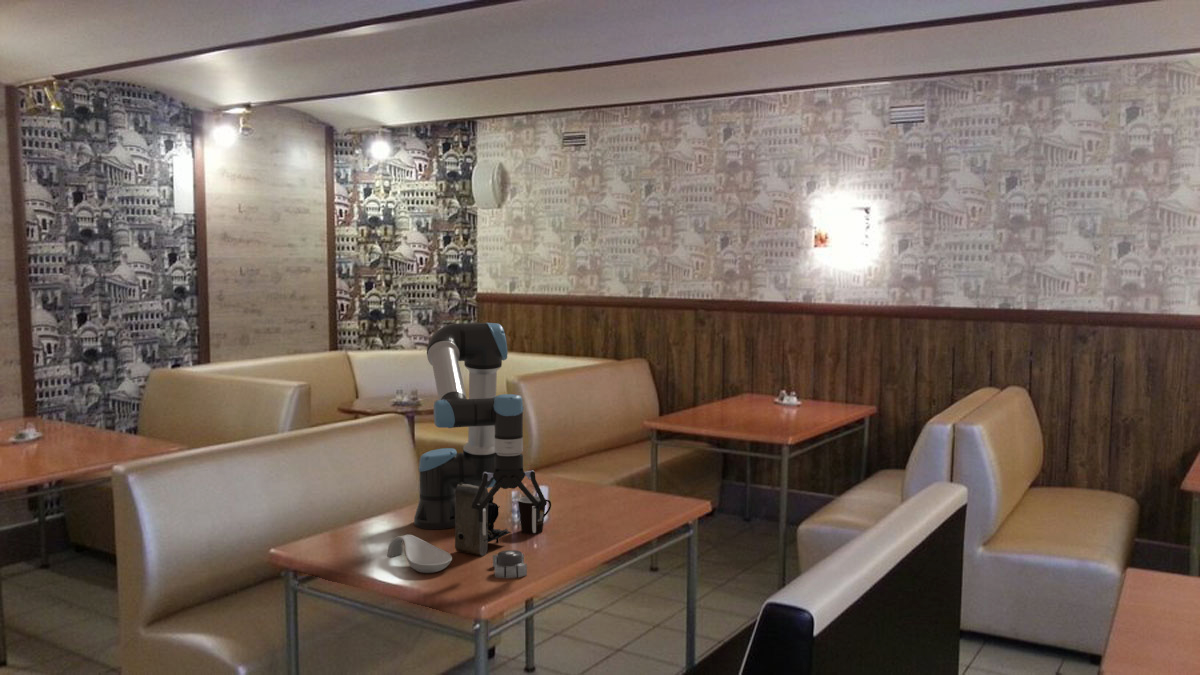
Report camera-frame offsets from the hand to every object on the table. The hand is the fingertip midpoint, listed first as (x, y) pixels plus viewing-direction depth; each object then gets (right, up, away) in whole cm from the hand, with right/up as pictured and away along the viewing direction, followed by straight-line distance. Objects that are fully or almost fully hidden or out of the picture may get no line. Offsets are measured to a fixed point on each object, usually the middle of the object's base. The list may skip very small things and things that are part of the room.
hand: (509, 532), depth 242 cm
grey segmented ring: (0, -10, +1) cm, 10 cm away
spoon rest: (-26, -10, +6) cm, 28 cm away
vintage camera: (-10, -9, +21) cm, 25 cm away
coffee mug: (+5, -8, +39) cm, 40 cm away
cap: (0, -10, 0) cm, 10 cm away
